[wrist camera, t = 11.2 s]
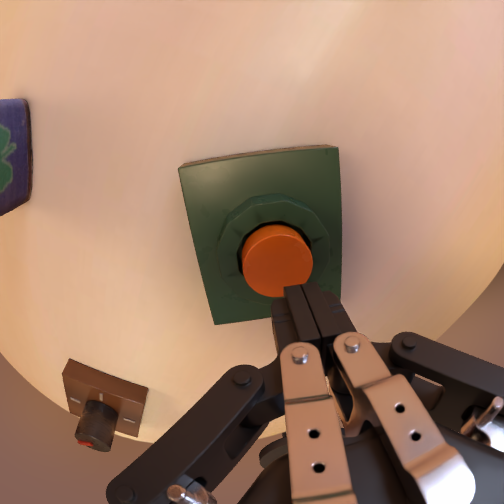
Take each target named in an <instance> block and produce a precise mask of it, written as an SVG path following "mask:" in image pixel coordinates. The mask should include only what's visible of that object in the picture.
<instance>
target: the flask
mask: <svg viewBox="0 0 504 504" xmlns="http://www.w3.org/2000/svg"><path fill="white" fill-rule="evenodd" d="M30 132H31V130H30V113H29V108H28V104H27V102H26V101H25V100H23V99H1V100H0V216H2V215H4V214H6V213H8V212H10V211H12V210H13V209H15V208H17V207H18V206H20V205H22V204H23V203H25V202H26V201H28V200H29V198H30V195H31V188H32V150H31V133H30Z"/></svg>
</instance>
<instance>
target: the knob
mask: <svg viewBox="0 0 504 504" xmlns="http://www.w3.org/2000/svg"><path fill="white" fill-rule="evenodd" d="M117 421H118V414H117V413H116V411H115V410H113V409H112V408H111V407H109V406H107V405H105V404H103V403H101V402H98V401H87V402H86V404H85V406H84V409H83V412H82V415H81V418H80V421H79V424H78V426H77V430H76V433H75V437H76V439H77V440H78V443H79V444H81V445H86V446H88V447H89V448H92V449H95V450H98V451H102V452H109V451H110V449H111V445H112V441H113V437H114V433H115V429H116V425H117Z"/></svg>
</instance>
